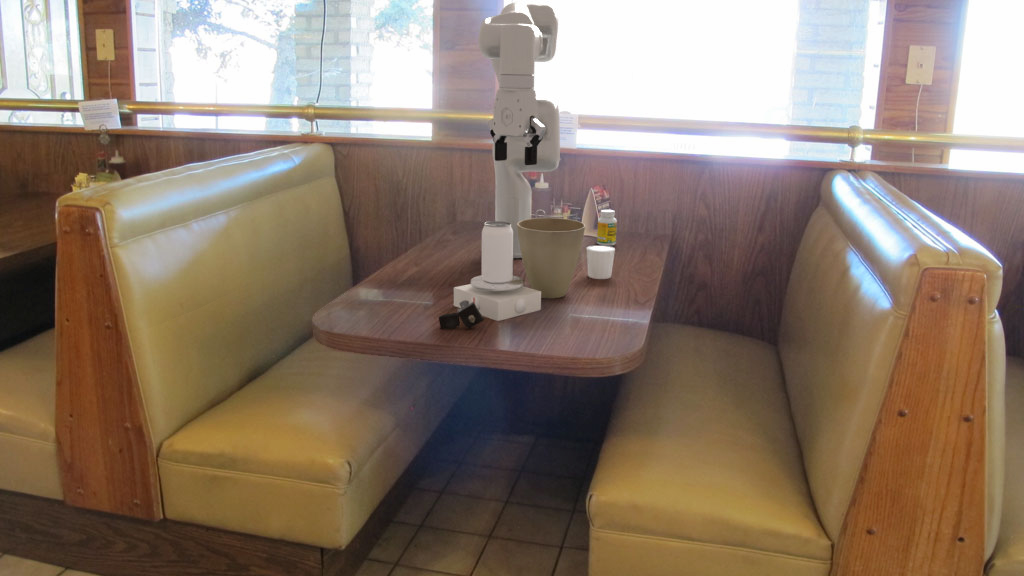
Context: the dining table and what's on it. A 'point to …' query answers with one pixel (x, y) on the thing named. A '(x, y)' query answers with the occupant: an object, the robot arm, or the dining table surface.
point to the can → (497, 252)
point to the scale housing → (499, 301)
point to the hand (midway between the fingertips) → (515, 162)
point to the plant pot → (550, 253)
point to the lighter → (462, 316)
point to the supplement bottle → (607, 228)
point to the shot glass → (600, 261)
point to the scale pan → (512, 285)
